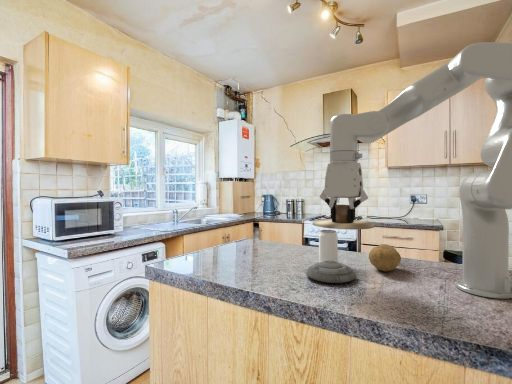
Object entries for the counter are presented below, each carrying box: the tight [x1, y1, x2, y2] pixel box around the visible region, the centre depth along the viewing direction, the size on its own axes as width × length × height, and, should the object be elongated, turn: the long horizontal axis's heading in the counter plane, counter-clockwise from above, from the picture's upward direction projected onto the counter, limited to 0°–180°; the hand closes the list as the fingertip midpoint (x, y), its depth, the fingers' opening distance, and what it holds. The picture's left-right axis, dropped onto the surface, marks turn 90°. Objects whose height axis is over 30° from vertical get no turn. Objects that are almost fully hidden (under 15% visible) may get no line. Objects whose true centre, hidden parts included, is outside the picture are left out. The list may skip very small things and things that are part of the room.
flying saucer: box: [305, 260, 357, 284], centre depth 88 cm, size 15×15×6 cm
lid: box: [312, 204, 375, 231], centre depth 83 cm, size 17×17×6 cm
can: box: [318, 229, 339, 263], centre depth 104 cm, size 6×6×12 cm
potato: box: [368, 243, 402, 272], centre depth 96 cm, size 10×14×8 cm
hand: (342, 221), depth 83 cm, fingers closed on lid, 4 cm apart
